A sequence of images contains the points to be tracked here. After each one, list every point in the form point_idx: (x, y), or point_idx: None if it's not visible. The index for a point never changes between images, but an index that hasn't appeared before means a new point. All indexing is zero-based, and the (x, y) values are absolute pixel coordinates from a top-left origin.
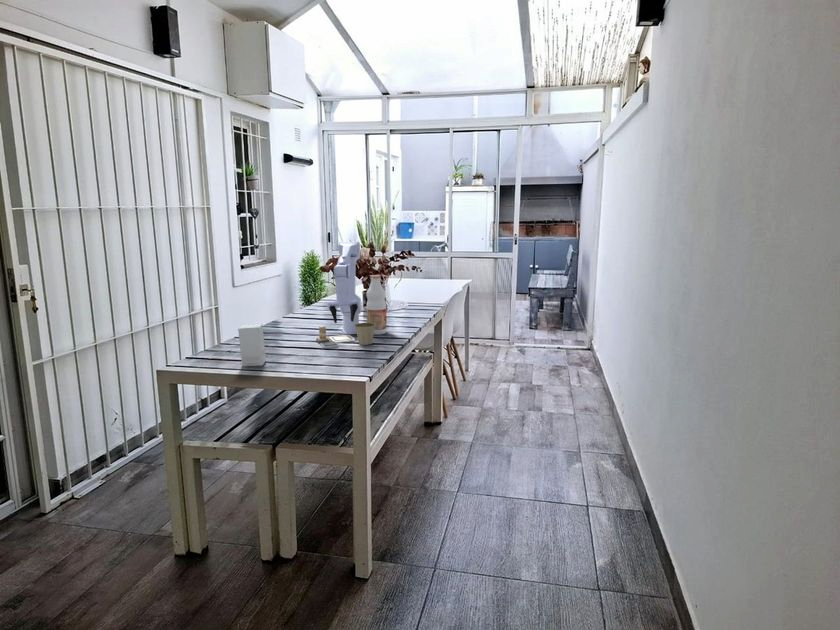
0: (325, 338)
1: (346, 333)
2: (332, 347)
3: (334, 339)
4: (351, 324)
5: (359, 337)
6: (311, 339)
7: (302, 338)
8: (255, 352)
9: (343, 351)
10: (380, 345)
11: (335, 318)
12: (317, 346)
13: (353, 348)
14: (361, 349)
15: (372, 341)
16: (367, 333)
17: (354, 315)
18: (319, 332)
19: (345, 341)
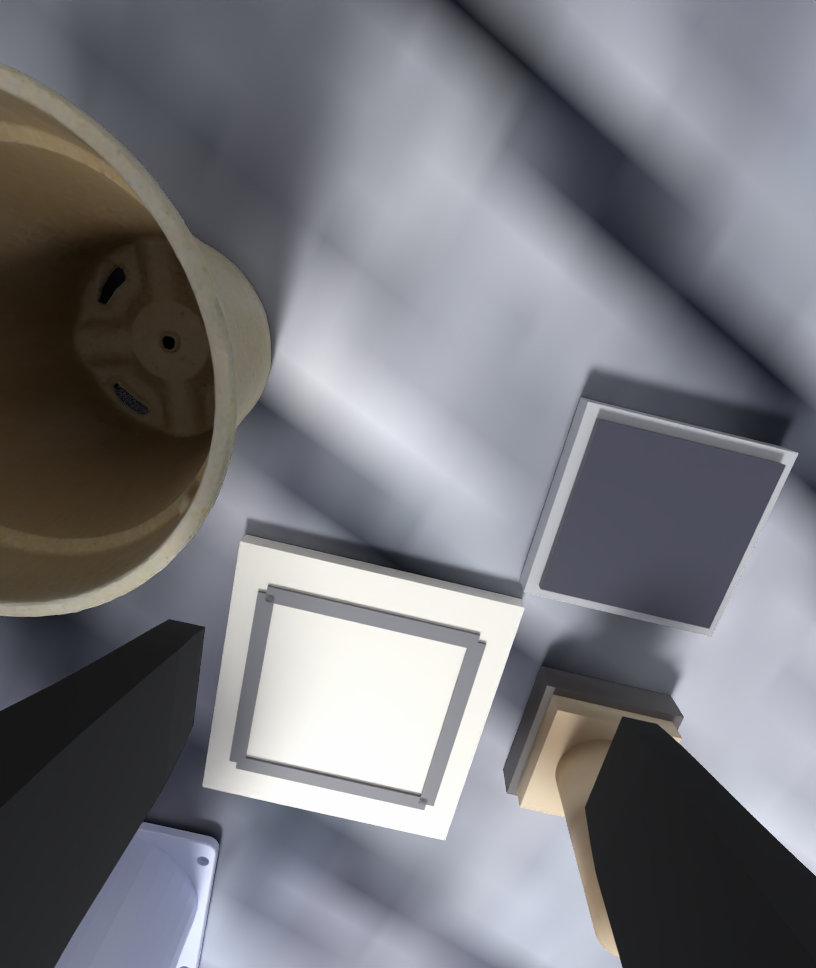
0: (597, 721)
1: (208, 846)
2: (663, 418)
3: (461, 698)
4: (84, 947)
5: (248, 322)
6: None
7: None
8: None
9: (673, 100)
10: None
11: (740, 819)
12: (768, 588)
13: (455, 179)
14: (385, 29)
15: (76, 260)
16: (83, 172)
17: (15, 705)
18: None
19: (376, 568)
